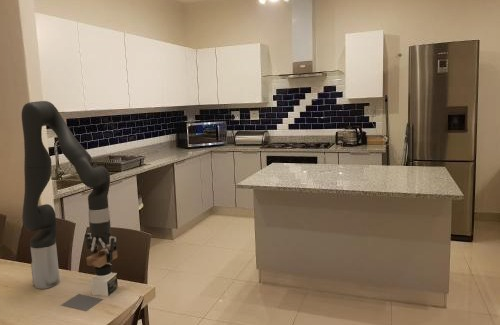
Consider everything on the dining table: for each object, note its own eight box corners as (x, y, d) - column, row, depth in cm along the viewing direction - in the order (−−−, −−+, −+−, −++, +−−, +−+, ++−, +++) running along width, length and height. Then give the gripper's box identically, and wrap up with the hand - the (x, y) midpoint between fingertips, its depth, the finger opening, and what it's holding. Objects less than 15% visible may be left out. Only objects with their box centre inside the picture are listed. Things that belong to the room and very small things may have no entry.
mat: (60, 307, 147) (60, 305, 146) (79, 296, 155) (78, 293, 155) (86, 313, 142) (86, 311, 142) (103, 301, 151) (103, 299, 151)
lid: (87, 265, 151) (86, 255, 151) (105, 255, 160) (104, 245, 160) (99, 267, 149) (99, 257, 148) (117, 257, 158) (116, 247, 158)
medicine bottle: (108, 298, 153) (106, 269, 151) (91, 296, 154) (89, 267, 152) (118, 289, 160) (116, 261, 158) (102, 287, 161) (99, 260, 159)
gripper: (77, 220, 151) (81, 261, 154) (108, 224, 146) (111, 267, 149) (91, 214, 158) (94, 254, 161) (121, 218, 153) (124, 259, 156)
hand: (102, 260), depth 155 cm, fingers closed on lid, 6 cm apart
